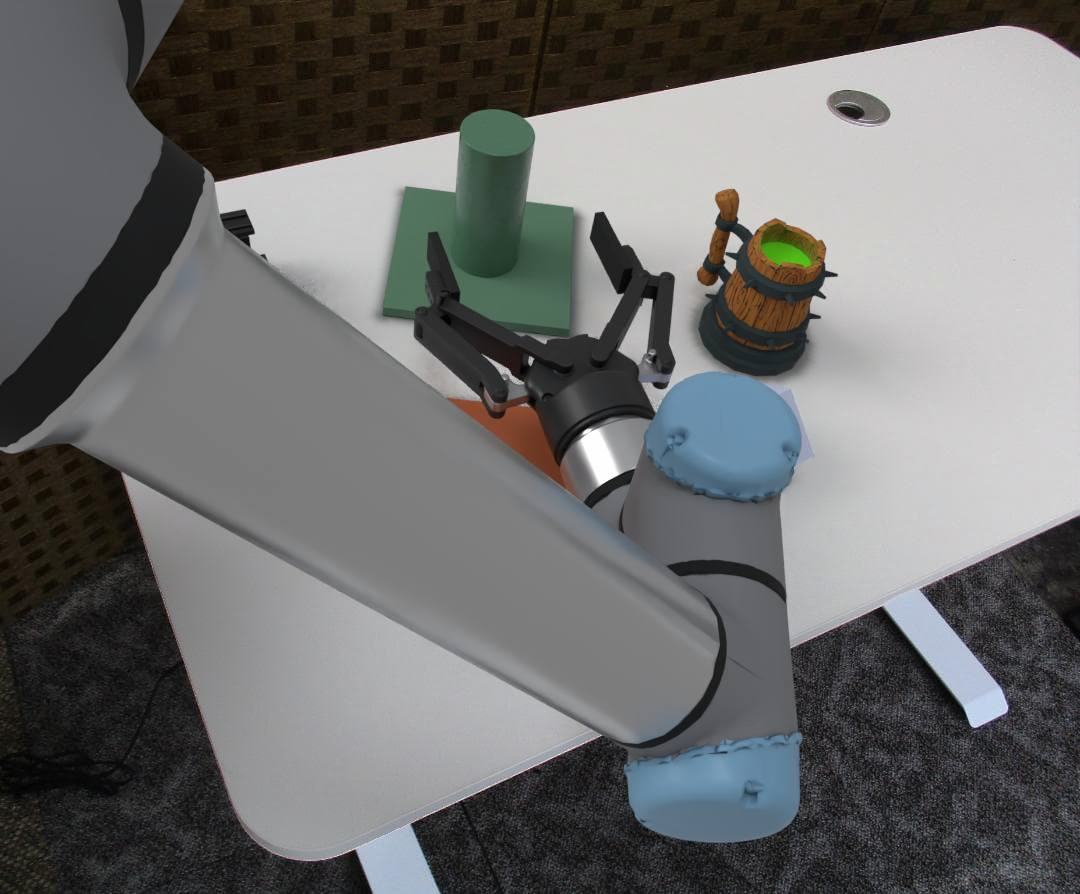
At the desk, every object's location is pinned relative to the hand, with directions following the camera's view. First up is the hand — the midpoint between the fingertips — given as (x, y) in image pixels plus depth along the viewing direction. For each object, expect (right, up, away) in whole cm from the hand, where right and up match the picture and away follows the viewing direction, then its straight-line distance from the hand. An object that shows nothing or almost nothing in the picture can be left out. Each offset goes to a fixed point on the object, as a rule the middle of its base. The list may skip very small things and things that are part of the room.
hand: (516, 234), depth 78 cm
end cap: (-24, -5, +5) cm, 26 cm away
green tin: (-3, +1, +11) cm, 12 cm away
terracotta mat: (-1, -20, -3) cm, 21 cm away
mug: (+20, -6, +11) cm, 24 cm away
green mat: (-3, 0, +12) cm, 12 cm away
